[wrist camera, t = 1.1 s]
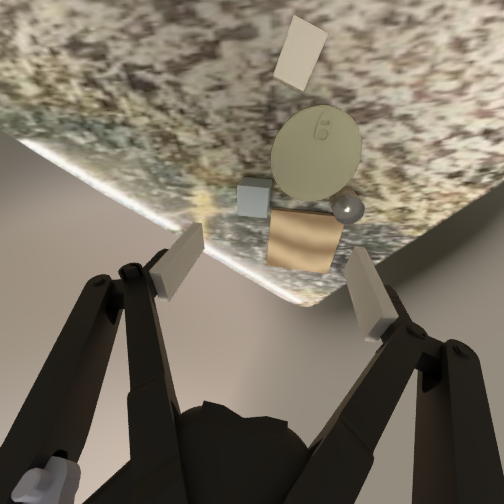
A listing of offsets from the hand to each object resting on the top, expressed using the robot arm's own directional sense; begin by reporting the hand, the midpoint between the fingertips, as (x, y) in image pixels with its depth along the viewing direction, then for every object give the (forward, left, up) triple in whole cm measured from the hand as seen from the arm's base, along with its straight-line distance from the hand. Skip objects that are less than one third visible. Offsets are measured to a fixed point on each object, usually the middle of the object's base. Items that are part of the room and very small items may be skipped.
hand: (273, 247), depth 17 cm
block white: (-15, 0, -20) cm, 25 cm away
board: (+11, +5, -20) cm, 24 cm away
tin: (+2, +10, -20) cm, 23 cm away
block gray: (+2, -5, -20) cm, 21 cm away
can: (-6, +3, -20) cm, 21 cm away
